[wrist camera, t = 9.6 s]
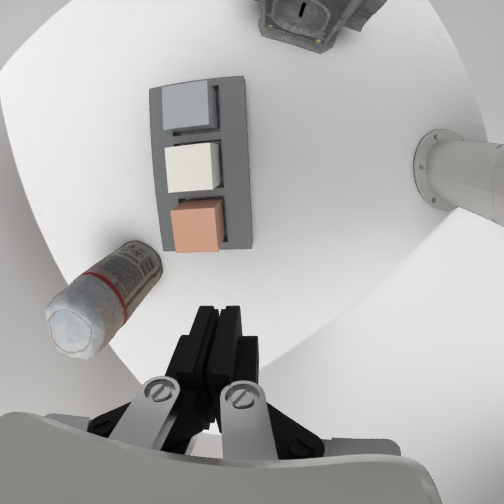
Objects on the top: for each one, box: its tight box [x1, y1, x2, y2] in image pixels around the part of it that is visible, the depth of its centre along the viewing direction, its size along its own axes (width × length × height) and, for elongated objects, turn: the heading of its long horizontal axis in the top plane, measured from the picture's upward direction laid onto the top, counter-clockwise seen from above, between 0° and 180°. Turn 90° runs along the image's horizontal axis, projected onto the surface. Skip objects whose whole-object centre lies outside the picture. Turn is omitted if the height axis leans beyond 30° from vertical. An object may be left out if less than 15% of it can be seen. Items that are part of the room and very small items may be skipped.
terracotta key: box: [171, 198, 225, 253], centre depth 33 cm, size 5×5×6 cm
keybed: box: [149, 76, 253, 251], centre depth 34 cm, size 12×22×3 cm, turn 3°
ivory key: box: [165, 143, 221, 193], centre depth 30 cm, size 5×5×6 cm
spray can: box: [45, 241, 162, 360], centre depth 31 cm, size 8×8×20 cm
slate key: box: [162, 80, 218, 133], centre depth 28 cm, size 5×5×6 cm
